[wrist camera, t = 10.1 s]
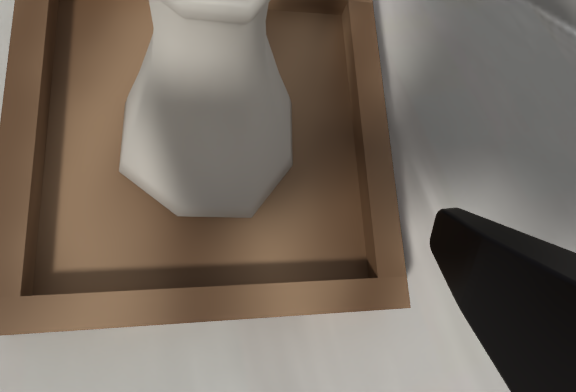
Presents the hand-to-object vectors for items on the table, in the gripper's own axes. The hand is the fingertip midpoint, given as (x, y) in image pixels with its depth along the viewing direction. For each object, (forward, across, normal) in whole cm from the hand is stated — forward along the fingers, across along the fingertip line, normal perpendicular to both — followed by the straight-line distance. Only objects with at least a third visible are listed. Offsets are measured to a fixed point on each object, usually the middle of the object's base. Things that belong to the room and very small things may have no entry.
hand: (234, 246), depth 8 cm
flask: (+10, 0, +2) cm, 10 cm away
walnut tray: (+10, 0, +2) cm, 11 cm away
